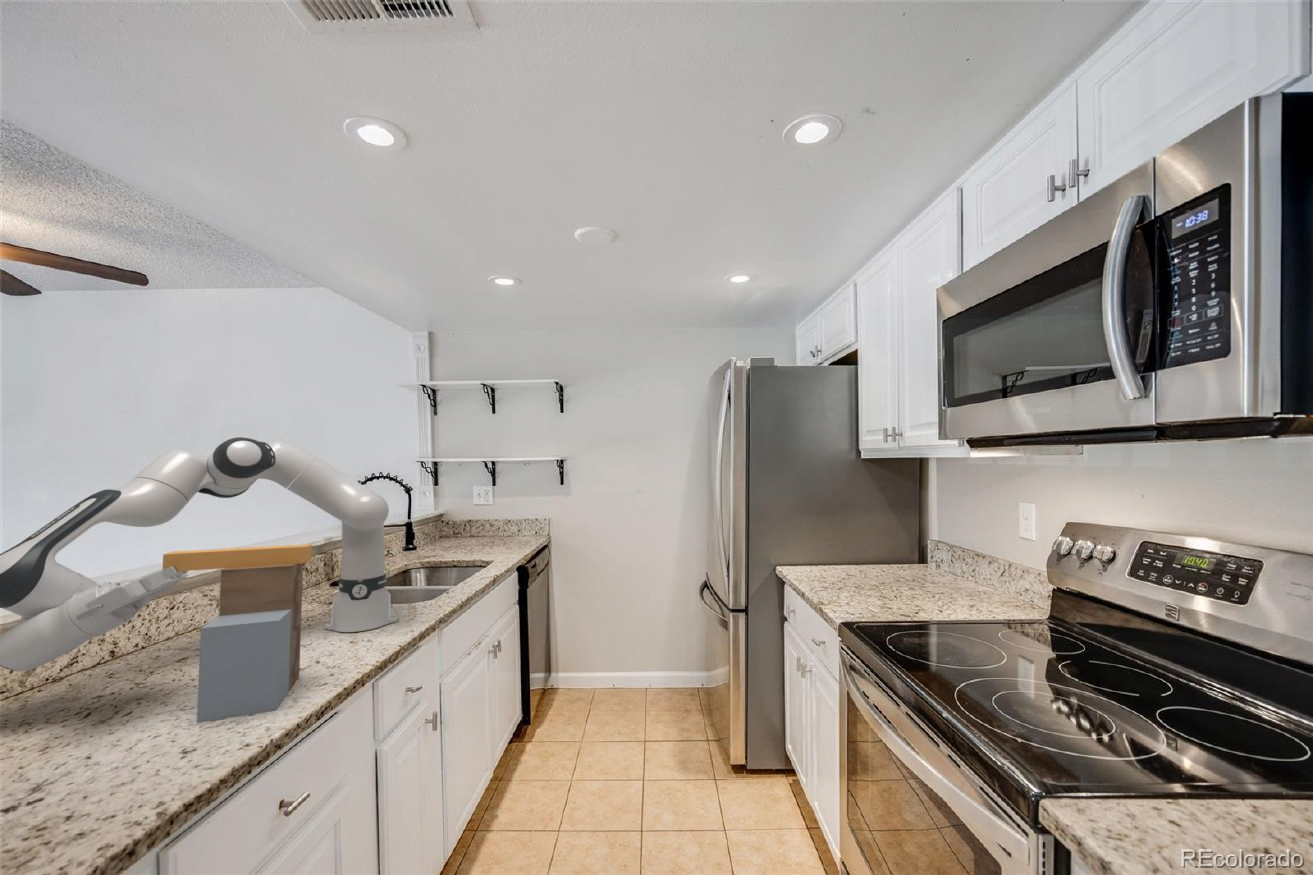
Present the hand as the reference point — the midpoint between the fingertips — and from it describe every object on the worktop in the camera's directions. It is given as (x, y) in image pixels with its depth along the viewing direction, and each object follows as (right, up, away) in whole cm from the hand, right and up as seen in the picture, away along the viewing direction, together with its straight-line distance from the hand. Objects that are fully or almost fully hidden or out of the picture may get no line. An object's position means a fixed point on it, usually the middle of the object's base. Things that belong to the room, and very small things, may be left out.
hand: (187, 564), depth 102 cm
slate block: (+15, -27, -4) cm, 31 cm away
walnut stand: (+12, -27, +3) cm, 30 cm away
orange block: (+8, -1, +3) cm, 9 cm away
